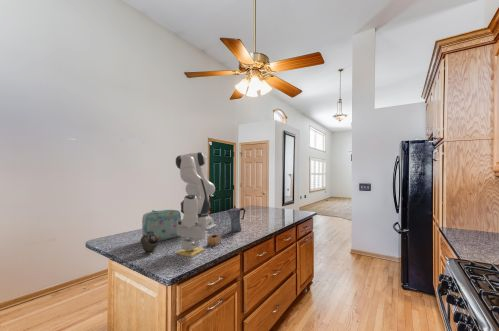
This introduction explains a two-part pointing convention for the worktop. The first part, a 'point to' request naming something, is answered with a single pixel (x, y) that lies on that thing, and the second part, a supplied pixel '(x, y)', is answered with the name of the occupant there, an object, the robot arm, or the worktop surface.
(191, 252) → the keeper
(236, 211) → the moka pot
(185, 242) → the link
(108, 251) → the worktop surface
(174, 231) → the lunch box
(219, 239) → the brown rounded piece
